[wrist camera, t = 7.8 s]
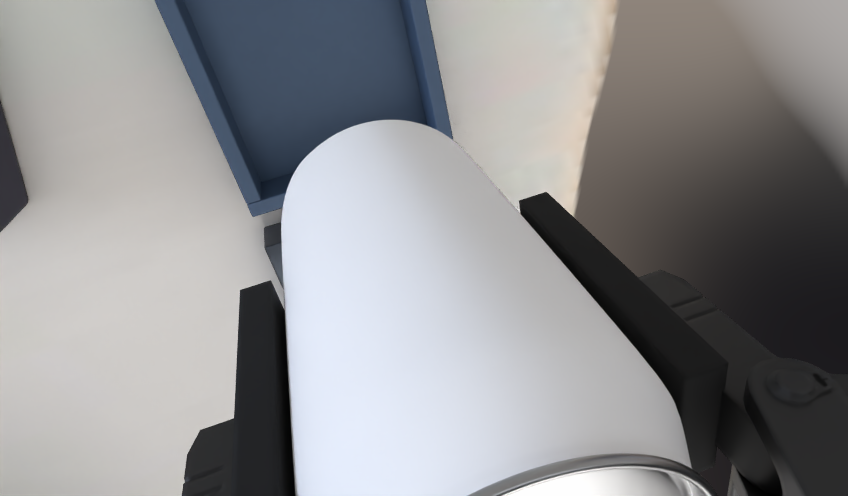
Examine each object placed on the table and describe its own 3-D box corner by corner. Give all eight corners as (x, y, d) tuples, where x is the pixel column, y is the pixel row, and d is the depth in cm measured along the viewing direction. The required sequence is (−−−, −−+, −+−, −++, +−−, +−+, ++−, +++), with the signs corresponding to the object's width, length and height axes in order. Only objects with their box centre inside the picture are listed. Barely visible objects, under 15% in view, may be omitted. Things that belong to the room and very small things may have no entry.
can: (327, 77, 15) (452, 393, 5) (515, 159, 18) (837, 470, 8) (250, 268, 17) (231, 740, 7) (426, 315, 20) (587, 706, 10)
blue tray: (441, 135, 33) (456, 153, 31) (252, 194, 32) (252, 217, 29) (372, -187, 25) (386, -199, 22) (113, -123, 23) (96, -128, 21)
